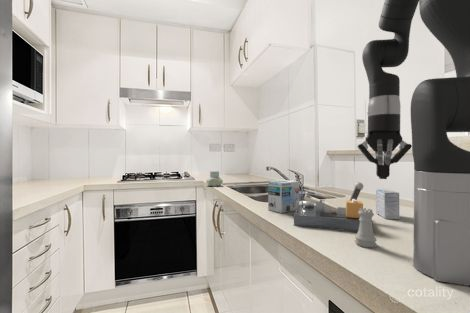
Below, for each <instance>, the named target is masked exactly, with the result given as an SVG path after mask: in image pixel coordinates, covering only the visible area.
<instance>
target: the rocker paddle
mask: <svg viewBox="0 0 470 313" xmlns="http://www.w3.org/2000/svg"><path fill="white" fill-rule="evenodd" d="M303 200H304V201H310V202H313V203H314V205H316V202H324V207H326V208H328V209H331V210H334V211H336V212H337V209H338V208H337V207H338V205H335V204H332V203H330V202H327V201H322V200H323V199H322V200H319V198H317V197H313V196H312V195H311V194H305V195H304V197H303Z"/></svg>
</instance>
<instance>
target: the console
mask: <svg viewBox="0 0 470 313" xmlns="http://www.w3.org/2000/svg"><path fill="white" fill-rule="evenodd" d="M318 199H319V198H318ZM319 200H322V201H325V199H322V198H321V199H319ZM325 202H326V201H325ZM337 208H338V209H337V212H336V211H334V210H331V209H328V208H326V207H324V202H316V204H315V203H313V202H310V201H307V200H301V203H299V207H298V208H297V210H295V212H294V214H293V226H295V227H296V226H298V227H299V226H300V227H306V228H307V227H308V228H318V229H327V230H336V231H344V232H345V231H346V232H353V233H356V232H358V231H359V226H360V220H359V219H360V218H351V217H347V216H346V207H341V206H337ZM363 210H364V208H363ZM373 225H374V224H373V222H372V230H373V227H374V226H373Z"/></svg>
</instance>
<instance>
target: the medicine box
mask: <svg viewBox="0 0 470 313" xmlns="http://www.w3.org/2000/svg"><path fill="white" fill-rule="evenodd" d="M375 197H376V198H375V203H376V204H375V210H376V211H375V213H376V214H377V215H378V214H379V215H378V216H380V217H382V218H383V219H386V220H397V219H398V220H400V215H401V214H400V192H397V191H394V190H390V189H376V190H375Z"/></svg>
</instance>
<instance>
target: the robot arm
mask: <svg viewBox="0 0 470 313" xmlns="http://www.w3.org/2000/svg"><path fill="white" fill-rule="evenodd" d="M418 4H419V7H418ZM417 7H418V8H419V9H418V10H419V15H420V18H421V21H422V22H423V24H424V25H425V27H426V28H427V29H428V30H429V32H430V33H431V35H432V36H434V37H435V39H437V41H438V42H439V43H440V44H441V45H442V46H443V48H445V49H446V50H447V52H448V54H449V56H450V58H451V59H452V62H453V66H454V70H455V73H456V76H453V77H440V78H437V77H436V78H429V79H426V80H423V81H421V82H420V83H419V84H417V86H416V87H415V88H414V91H413V93H412V96H411V100H410V101H411V102H410V125H411V127H410V128H411V144H410V143H407V142H406V141H404V140H403V137H402V134H401V100H400V99H401V98H400V97H401V96H400V92H401V91H400V90H401V89H400V80H401V79H400V77H399V76H398V74H394V73H389V72H387V71H385V70H384V69H383V68H397V67H399V66H401V65H403V63H404V62H405V61H406V59H407V57H408V55H409V50H410V48H409V47H410V36H411V27H412V21H413V19H414V16H415V14H416V12H417V11H416V10H417ZM378 28H379V29H380V30H382V31H383V32H389V33H393V34H394V37H393V38H388V39H387V38H386V39H374V40H370V41H369V42H367V44H365V45H364V48H363V51H362V55H361V56H362V58H361V59H362V65H363V67H364V69H365V70H364V71H365V73H366V77H367V80H368V94H369V95H368V106H367V135H366V137H365V141H363V142H362V143H359V144H358V145H357V148H358V150H359V151H360V152H361V153H362V155H363V156H364V157H365V158H366V160H368V162H370V163H373V164H375V165H376V176H377V177H378V179H380V180H387V178H388V177H390V174H391V173H390V170H391V169H390V166H391V165H393V164H397V163H398V162H399V161H400V160H401V159H402V158H403V157H404V156H405V155H406V153H408V151H410V150H411V149H412V152H411V153H412V158H413V167H414V168H413V169H414V170H413V241H412V242H413V252H412V254H413V259H412V260H413V261H412V262H413V267H415V269H416V270H417V271H419V272H420V273H423V274H424V275H427V276H428V277H431V278H433V279H434V280H435V281H437V282H444V283H449V284H456V285H462V284H463V286H469V285H470V150H466V149H464V148H461V147H460V146H458V145H456V144H454V143H453V142H452V141H451V140H450V139H449V137H448V133H470V0H384V2H383V6H382V9H381V14H380V17H379V21H378ZM369 147H370V148H371V150H372V151H373V152H374V155H375V157H374V156H373V154H371V152H370V151H369V150H368V149H369ZM397 147H398V148H399V149H398V151H397V152H396V153H395V154H394V155H393V151H395V150H396V148H397ZM392 155H393V156H392Z"/></svg>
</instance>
